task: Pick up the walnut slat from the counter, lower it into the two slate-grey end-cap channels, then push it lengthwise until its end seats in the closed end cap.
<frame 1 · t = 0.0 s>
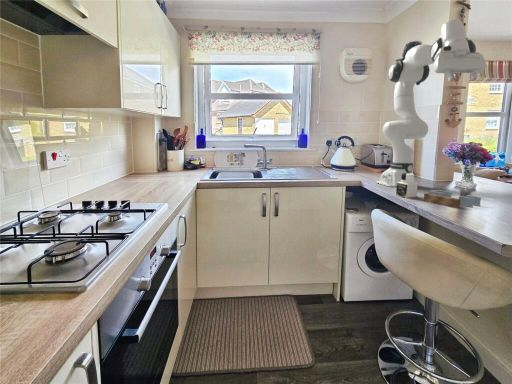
hand: (462, 80, 140), 54 cm above the worktop, tool tilted 30°, fingers open, 8 cm apart
slat: (440, 204, 155), on the worktop
cap closed: (440, 199, 165), on the worktop
cap open: (469, 205, 152), on the worktop
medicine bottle: (406, 196, 173), on the worktop
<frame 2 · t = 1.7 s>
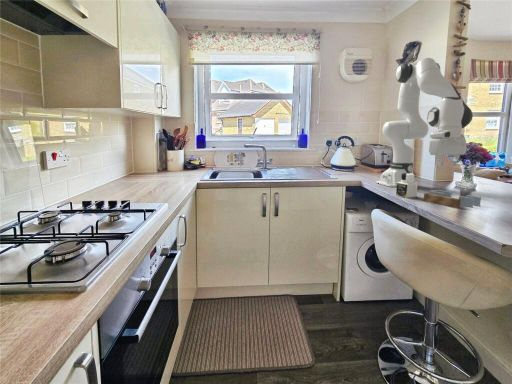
hand: (446, 165, 150), 18 cm above the worktop, tool pointing down, fingers open, 8 cm apart
nothing on the worktop moved.
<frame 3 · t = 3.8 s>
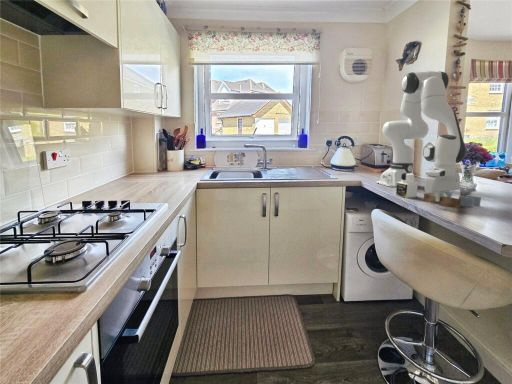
hand: (441, 200, 155), 2 cm above the worktop, tool pointing down, fingers closed on slat, 3 cm apart
slat: (440, 204, 155), on the worktop, touching gripper
everything else where it was.
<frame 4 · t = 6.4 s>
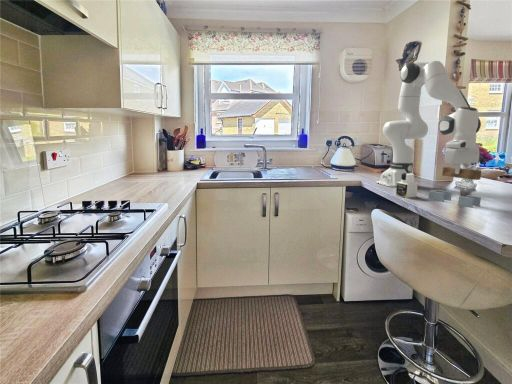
hand: (460, 173, 155), 14 cm above the worktop, tool pointing down, fingers closed on slat, 3 cm apart
slat: (460, 177, 155), point 12 cm above the worktop, touching gripper
everything else where it was.
when the fingers open (3 cm above the worktop, at t = 8.5 s): slat drops 2 cm, on the worktop.
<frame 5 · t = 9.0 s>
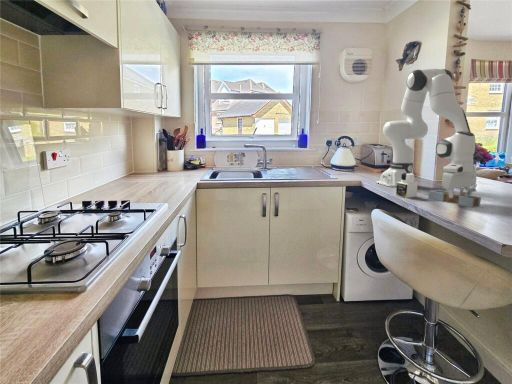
hand: (457, 196, 157), 3 cm above the worktop, tool pointing down, fingers open, 8 cm apart
slat: (457, 203, 157), on the worktop
everything else where it was.
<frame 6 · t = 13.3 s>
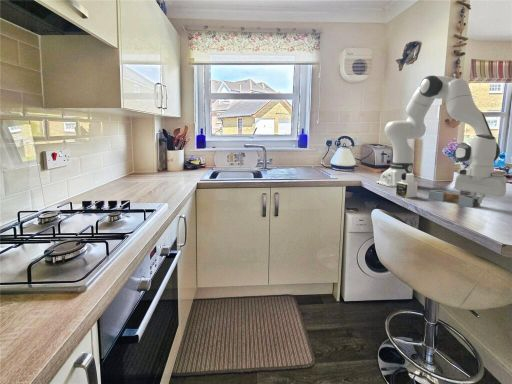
hand: (477, 202, 149), 2 cm above the worktop, tool pointing down, fingers closed
slat: (455, 203, 158), on the worktop, touching gripper
everything else where it was.
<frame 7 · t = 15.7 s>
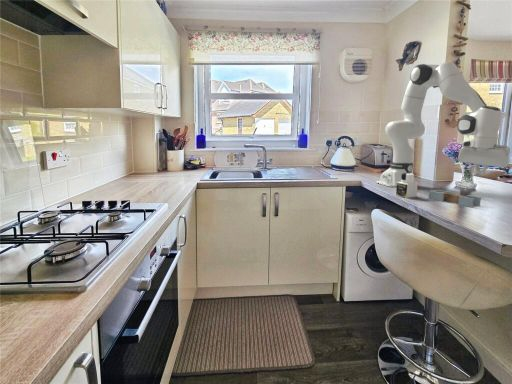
hand: (479, 174, 151), 14 cm above the worktop, tool pointing down, fingers closed
slat: (449, 202, 161), on the worktop
everything else where it was.
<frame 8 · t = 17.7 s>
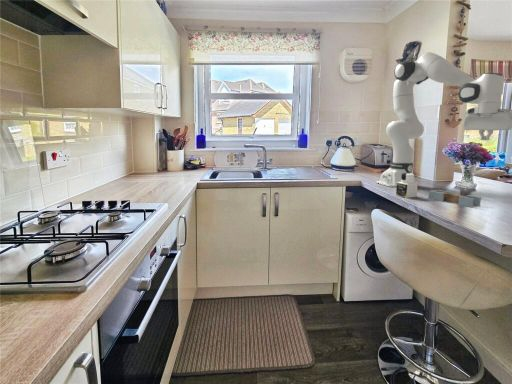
hand: (484, 140, 155), 29 cm above the worktop, tool pointing down, fingers closed
nothing on the worktop moved.
at the end: slat 0.2 cm from the target spot, on the worktop; the gripper is holding nothing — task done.
